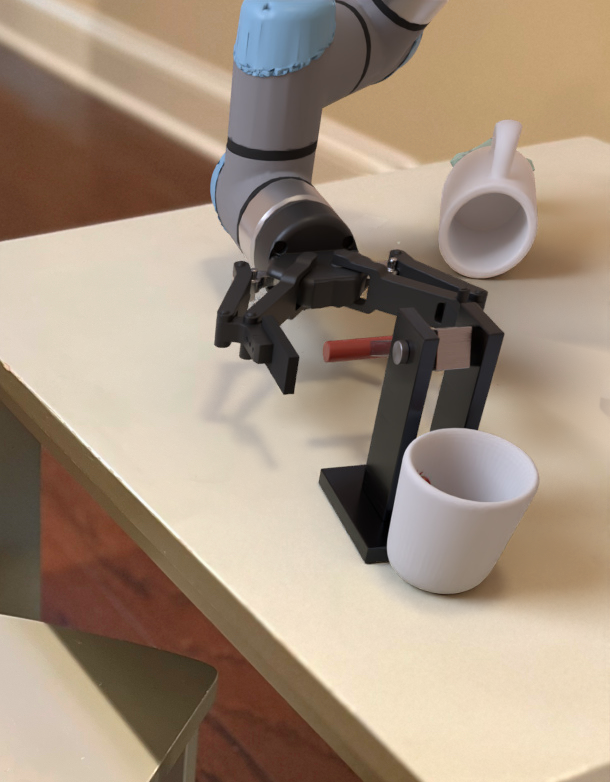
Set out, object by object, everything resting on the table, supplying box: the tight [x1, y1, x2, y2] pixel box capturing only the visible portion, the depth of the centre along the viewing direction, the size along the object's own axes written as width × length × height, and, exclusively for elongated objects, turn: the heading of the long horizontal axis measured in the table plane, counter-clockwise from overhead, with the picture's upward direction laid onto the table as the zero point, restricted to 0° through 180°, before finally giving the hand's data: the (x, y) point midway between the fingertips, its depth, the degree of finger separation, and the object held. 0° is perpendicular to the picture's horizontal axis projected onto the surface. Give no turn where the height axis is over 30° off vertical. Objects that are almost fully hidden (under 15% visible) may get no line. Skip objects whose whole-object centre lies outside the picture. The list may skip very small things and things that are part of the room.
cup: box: [387, 428, 540, 595], centre depth 74 cm, size 11×8×8 cm
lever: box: [322, 326, 472, 372], centre depth 77 cm, size 13×7×2 cm, turn 8°
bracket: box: [317, 302, 505, 564], centre depth 76 cm, size 10×9×14 cm
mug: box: [437, 119, 539, 279], centre depth 107 cm, size 8×10×12 cm
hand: (388, 367), depth 80 cm, fingers open, 13 cm apart
